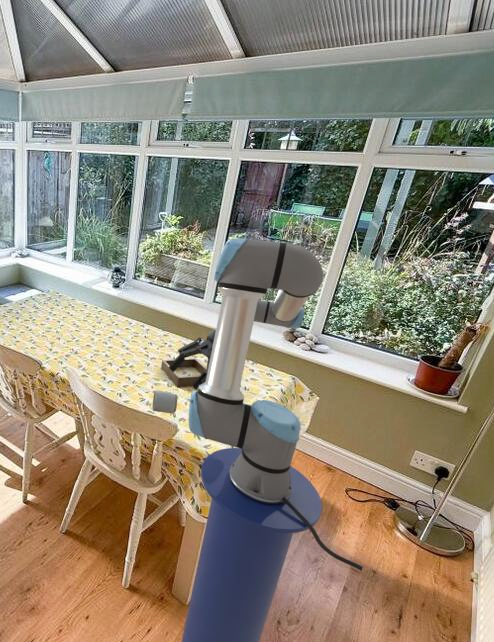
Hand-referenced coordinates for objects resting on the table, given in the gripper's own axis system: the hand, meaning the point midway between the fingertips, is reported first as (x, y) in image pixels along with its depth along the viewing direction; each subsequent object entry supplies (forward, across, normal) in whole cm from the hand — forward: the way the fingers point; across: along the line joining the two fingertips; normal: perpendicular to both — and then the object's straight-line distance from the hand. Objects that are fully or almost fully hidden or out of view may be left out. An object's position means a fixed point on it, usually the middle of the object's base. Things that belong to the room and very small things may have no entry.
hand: (181, 378), depth 150 cm
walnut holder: (-4, +17, -20) cm, 27 cm away
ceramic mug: (+13, 0, -4) cm, 13 cm away
